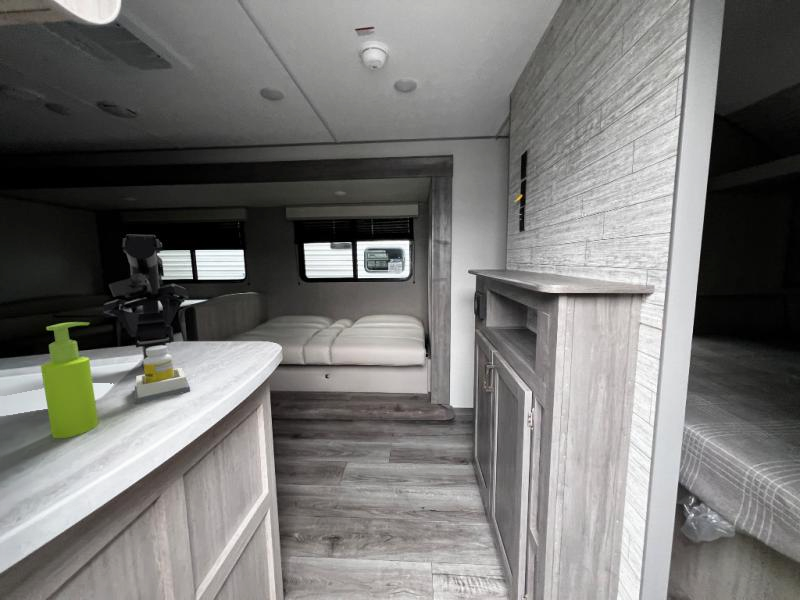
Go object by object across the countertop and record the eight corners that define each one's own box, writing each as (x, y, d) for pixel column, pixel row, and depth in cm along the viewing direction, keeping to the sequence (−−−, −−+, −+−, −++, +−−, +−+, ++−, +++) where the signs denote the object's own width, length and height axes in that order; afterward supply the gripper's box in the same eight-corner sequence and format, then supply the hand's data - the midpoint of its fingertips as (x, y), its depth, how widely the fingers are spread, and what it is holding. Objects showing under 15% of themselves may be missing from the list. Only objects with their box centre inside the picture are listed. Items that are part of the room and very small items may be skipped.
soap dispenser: (112, 419, 60) (99, 320, 57) (71, 439, 53) (54, 328, 51) (86, 418, 61) (71, 319, 58) (42, 437, 54) (23, 327, 51)
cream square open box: (135, 389, 74) (133, 375, 74) (185, 379, 81) (183, 366, 80) (135, 403, 67) (133, 388, 66) (190, 390, 73) (188, 376, 73)
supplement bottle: (143, 387, 73) (139, 348, 72) (171, 380, 77) (167, 343, 76) (149, 393, 69) (145, 352, 68) (178, 385, 74) (173, 346, 72)
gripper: (79, 277, 74) (81, 337, 70) (154, 255, 75) (160, 315, 71) (121, 289, 85) (125, 342, 81) (186, 270, 85) (193, 322, 82)
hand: (150, 331), depth 78 cm, fingers open, 9 cm apart
